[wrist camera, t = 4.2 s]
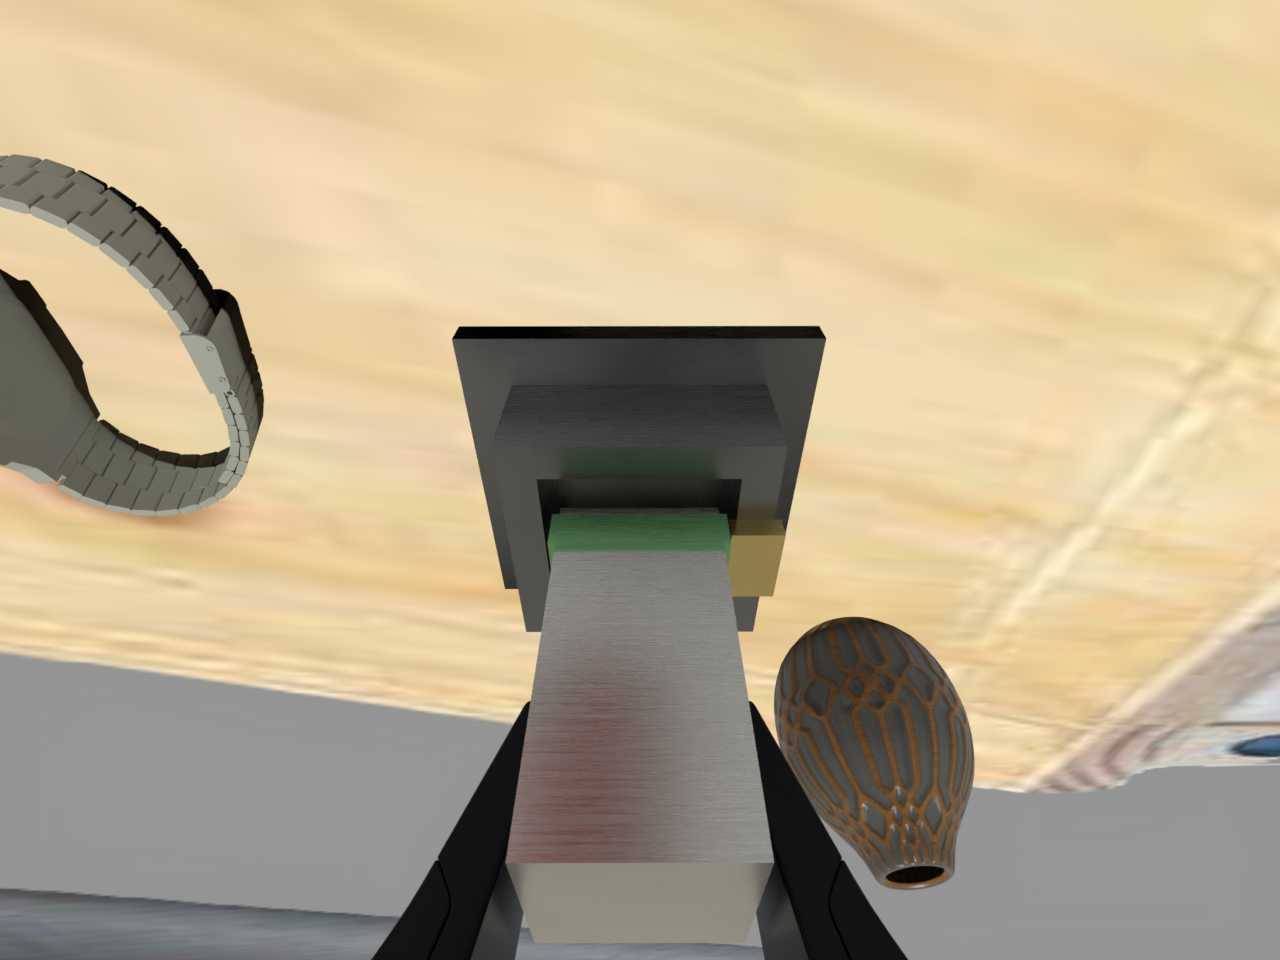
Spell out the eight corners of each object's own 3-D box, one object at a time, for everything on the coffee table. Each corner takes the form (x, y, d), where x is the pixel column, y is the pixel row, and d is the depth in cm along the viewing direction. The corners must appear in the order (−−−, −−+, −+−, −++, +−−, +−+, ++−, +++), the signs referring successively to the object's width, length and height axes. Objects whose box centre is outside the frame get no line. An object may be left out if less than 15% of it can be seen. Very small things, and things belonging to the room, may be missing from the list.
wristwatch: (-71, 140, 14) (-349, 194, 10) (204, 148, 14) (35, 204, 10) (128, 457, 20) (1, 570, 16) (322, 461, 20) (244, 574, 16)
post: (724, 503, 15) (785, 858, 9) (711, 613, 18) (751, 945, 11) (554, 503, 15) (493, 860, 9) (567, 613, 18) (528, 945, 11)
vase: (959, 609, 24) (1086, 848, 17) (874, 699, 28) (948, 921, 22) (803, 578, 23) (872, 821, 16) (738, 677, 27) (771, 903, 20)
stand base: (819, 325, 17) (867, 409, 13) (770, 572, 23) (794, 673, 19) (459, 326, 17) (412, 410, 13) (508, 572, 23) (485, 674, 19)
